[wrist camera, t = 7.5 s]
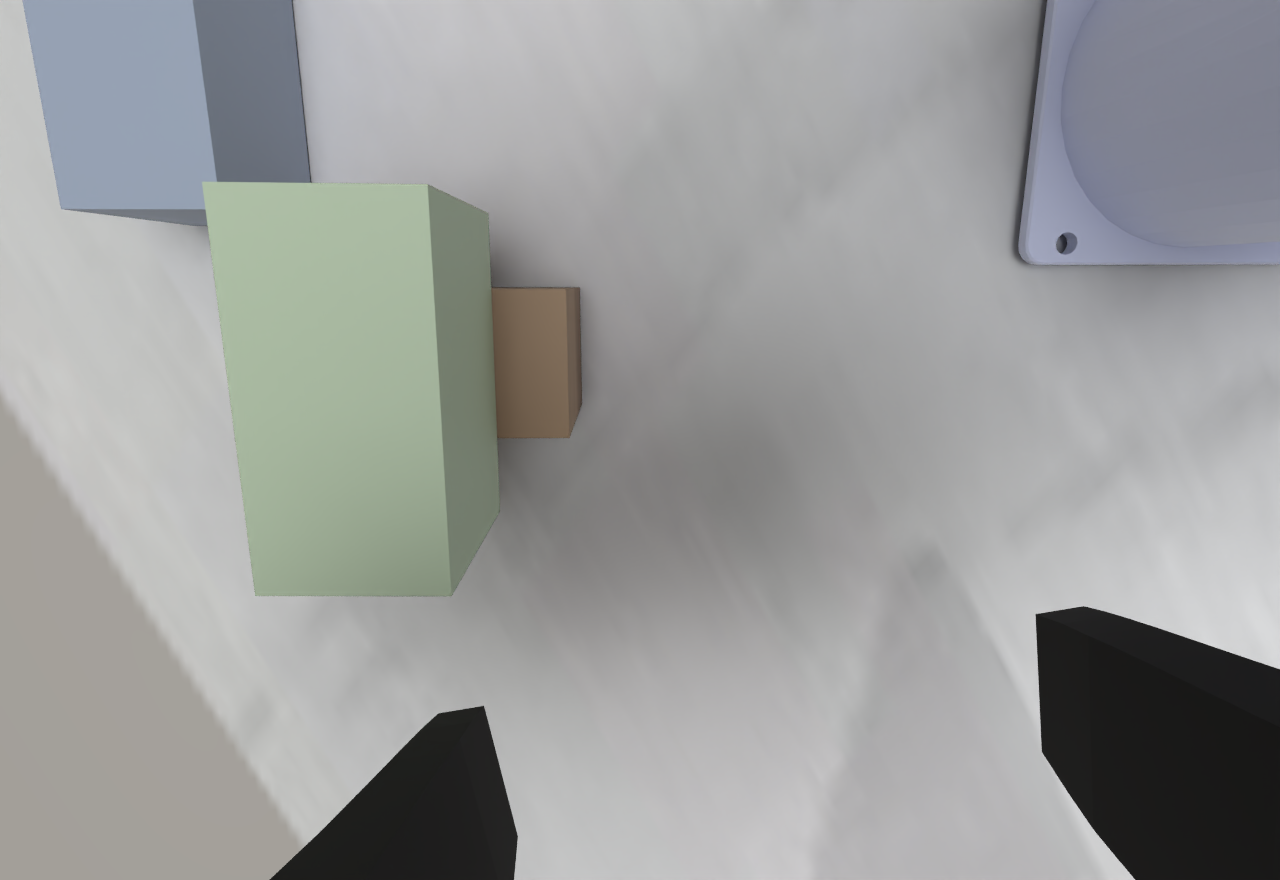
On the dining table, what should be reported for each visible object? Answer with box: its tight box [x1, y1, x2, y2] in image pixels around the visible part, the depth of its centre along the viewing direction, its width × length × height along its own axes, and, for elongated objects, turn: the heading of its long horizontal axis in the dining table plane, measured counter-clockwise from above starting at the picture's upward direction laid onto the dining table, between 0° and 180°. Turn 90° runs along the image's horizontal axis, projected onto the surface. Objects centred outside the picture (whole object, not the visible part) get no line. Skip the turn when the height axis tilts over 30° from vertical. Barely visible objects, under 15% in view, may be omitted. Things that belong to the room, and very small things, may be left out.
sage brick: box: [202, 182, 500, 596], centre depth 12 cm, size 6×3×4 cm, turn 179°
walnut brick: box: [491, 287, 582, 438], centre depth 16 cm, size 6×3×4 cm, turn 90°
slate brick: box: [23, 0, 311, 226], centre depth 14 cm, size 6×3×4 cm, turn 0°
